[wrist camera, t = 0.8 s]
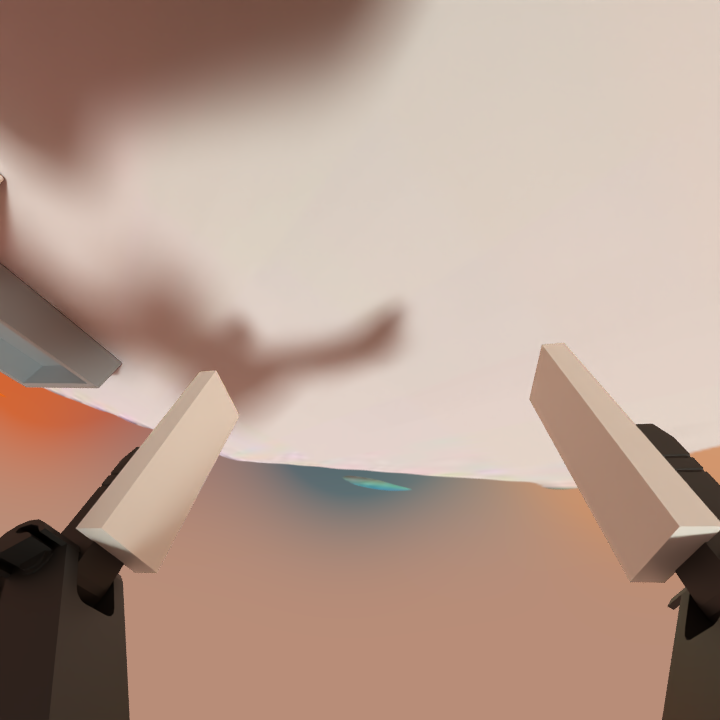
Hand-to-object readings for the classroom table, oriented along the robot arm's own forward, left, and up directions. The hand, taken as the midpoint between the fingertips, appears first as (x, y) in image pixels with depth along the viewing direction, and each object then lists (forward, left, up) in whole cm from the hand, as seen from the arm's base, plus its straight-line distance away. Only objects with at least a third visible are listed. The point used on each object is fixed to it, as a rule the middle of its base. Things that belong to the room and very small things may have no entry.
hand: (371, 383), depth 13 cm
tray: (+3, -53, -13) cm, 54 cm away
